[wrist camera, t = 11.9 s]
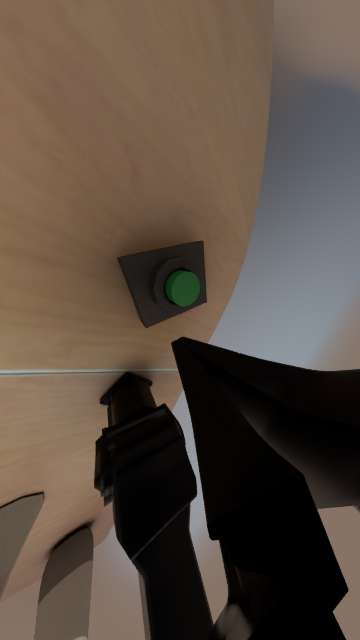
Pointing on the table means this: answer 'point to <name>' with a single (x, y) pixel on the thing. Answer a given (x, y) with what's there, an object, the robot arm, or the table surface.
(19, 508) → the flask
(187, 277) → the button
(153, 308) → the control block
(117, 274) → the table surface
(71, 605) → the smart speaker
